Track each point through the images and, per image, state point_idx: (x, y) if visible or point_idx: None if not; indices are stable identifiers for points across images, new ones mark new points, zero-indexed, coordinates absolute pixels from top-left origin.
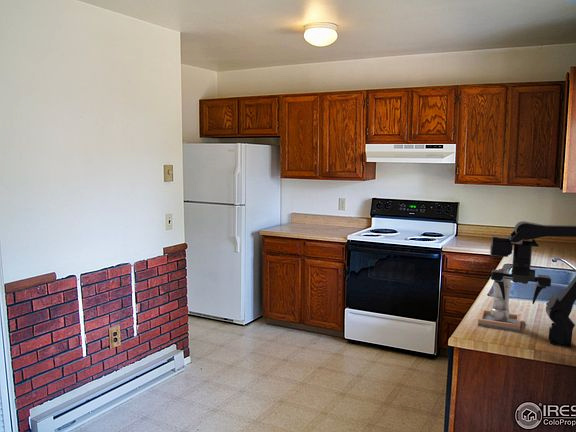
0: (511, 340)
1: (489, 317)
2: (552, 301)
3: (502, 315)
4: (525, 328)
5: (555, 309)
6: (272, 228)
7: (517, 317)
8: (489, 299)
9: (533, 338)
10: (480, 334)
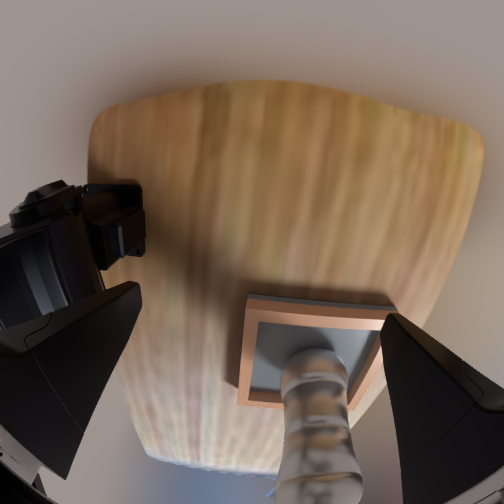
0: (293, 165)
1: None
2: (26, 309)
3: (311, 363)
4: (225, 333)
5: (23, 226)
6: None
7: (248, 384)
8: None
9: (199, 231)
10: (410, 199)
